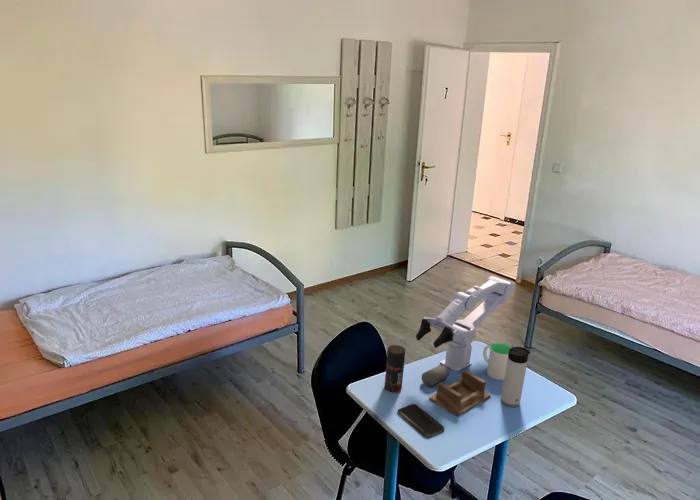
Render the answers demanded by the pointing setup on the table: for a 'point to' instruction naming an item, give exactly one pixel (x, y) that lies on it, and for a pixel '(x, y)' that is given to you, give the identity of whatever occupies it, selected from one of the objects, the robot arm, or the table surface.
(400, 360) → the deodorant
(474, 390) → the cradle
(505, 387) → the travel mug
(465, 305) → the robot arm
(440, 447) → the table surface
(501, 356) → the mug
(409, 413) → the phone
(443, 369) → the roll
